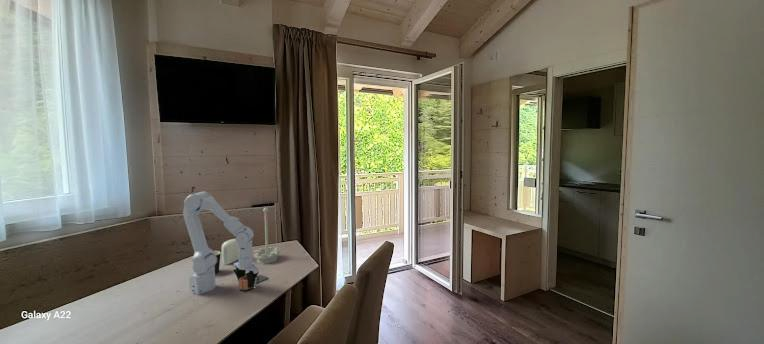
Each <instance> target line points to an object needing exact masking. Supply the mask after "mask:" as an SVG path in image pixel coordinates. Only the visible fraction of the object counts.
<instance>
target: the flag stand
mask: <svg viewBox="0 0 764 344" xmlns="http://www.w3.org/2000/svg"><path fill="white" fill-rule="evenodd" d="M269 210H270V209H269V208H268V207H264V208H263V209H262V212H263V213H264V239H265V240H264V241H265V242H264V243H265V248H264V247H261V248H258V249H256V250H254V258H255V259H256V262H257V263H258V264H262V263H264V264H270V263H271V262H272V263H275V262H276V261H277V260H278V259H279V257H278V256H279V255H280V249H279V247H274V248H273V246H269V225H268V224H269V223H268V221H269V219H268V213H269ZM274 261H275V262H274ZM272 263H271V264H272Z"/></svg>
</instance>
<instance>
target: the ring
mask: <svg viewBox="0 0 764 344" xmlns="http://www.w3.org/2000/svg"><path fill="white" fill-rule="evenodd" d="M238 287H239V289H241V290H247V289H250V288H249V287H248V280H247V277H246V275H245V276H243V277H240V278H239V281H238ZM251 288H253V287H251Z"/></svg>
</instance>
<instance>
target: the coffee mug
mask: <svg viewBox="0 0 764 344" xmlns="http://www.w3.org/2000/svg"><path fill="white" fill-rule="evenodd" d="M212 251H213V253H214V254H215V255H216V257H217V263H216V264H215V275H217V274H218V273H219V272H220V265H221V263H220V262H221V255H222V251H220V250H212Z"/></svg>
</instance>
